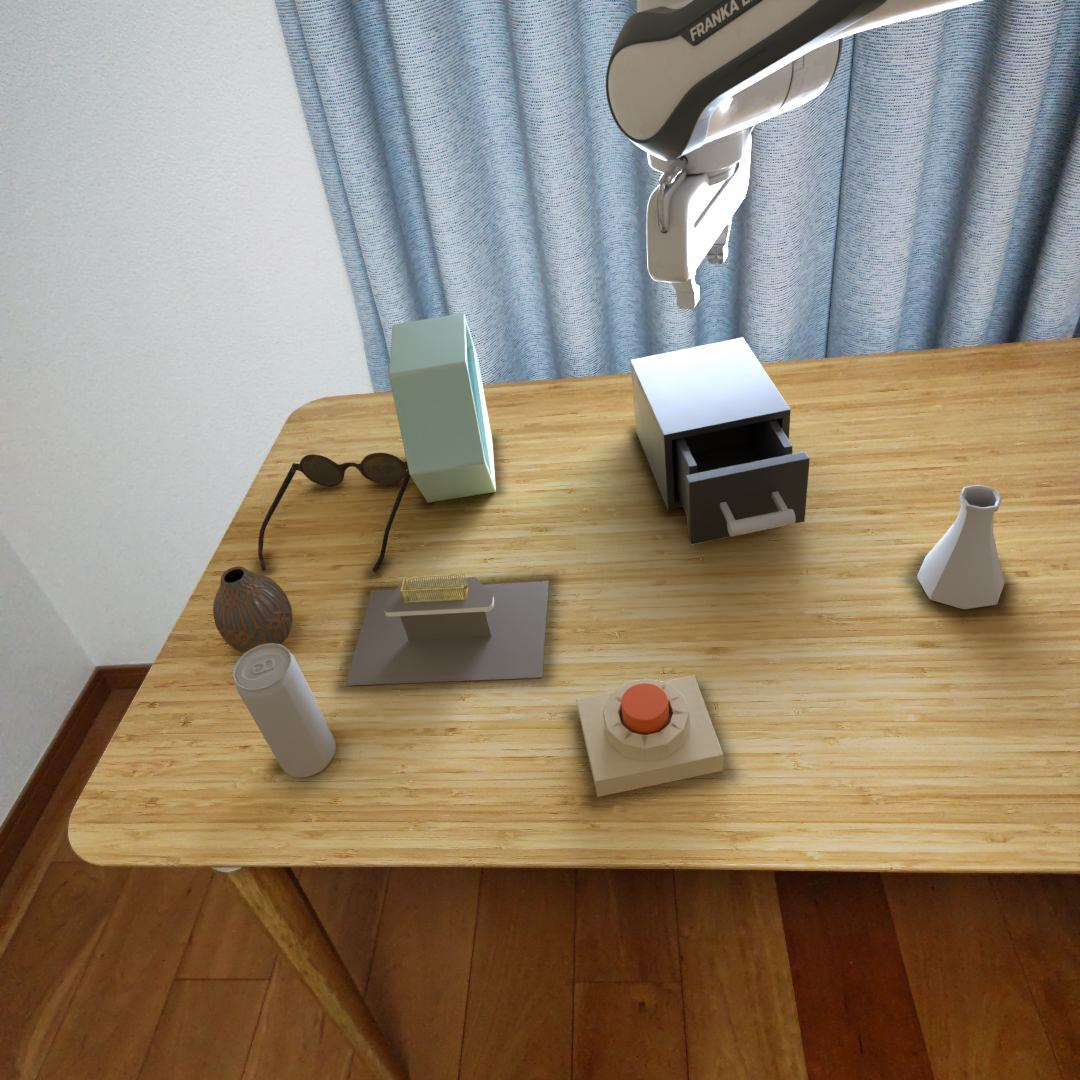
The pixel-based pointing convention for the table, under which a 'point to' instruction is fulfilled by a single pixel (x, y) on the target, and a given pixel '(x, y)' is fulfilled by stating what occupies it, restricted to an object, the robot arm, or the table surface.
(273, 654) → the beverage can
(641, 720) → the button
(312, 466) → the eyeglasses
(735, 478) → the cabinet drawer
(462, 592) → the platform
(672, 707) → the block
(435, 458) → the planter
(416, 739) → the table surface
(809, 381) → the table surface
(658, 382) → the single drawer cabinet
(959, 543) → the flask
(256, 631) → the vase
